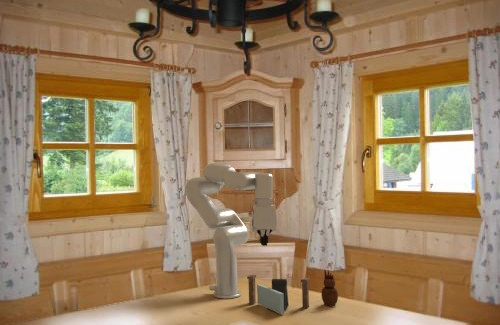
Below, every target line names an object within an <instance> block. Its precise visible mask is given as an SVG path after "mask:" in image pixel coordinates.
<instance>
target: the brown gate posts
mask: <svg viewBox="0 0 500 325" xmlns="http://www.w3.org/2000/svg"><path fill="white" fill-rule="evenodd" d="M246 277H247V278H246V279H247V281H248V304H249V305H252V306H253V305H255V304H256V302H257V301H256V300H257V299H256V298H257V296H256V278H257V274H249V275H248V276H246ZM309 281H310V277H305V276H304V277H301V279H300V282H301V294H302V295H301V296H302V299H301V300H302V309H308V308H309V307H310V306H309V305H310V301H309V300H310V298H309V297H310V294H309V293H310V291H309Z"/></svg>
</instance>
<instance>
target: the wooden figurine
mask: <svg viewBox="0 0 500 325" xmlns="http://www.w3.org/2000/svg"><path fill="white" fill-rule="evenodd" d="M323 271H324V279H323V285H324V287H322V289H321V300H322V302H323V304H324V305H325V306H328V307H333V306H335V305H337V302H338V299H339V292H338V290H337V288H336V287H335V286H336V280H335V278H334V274H332V273H331V272H330V271H329V270H327V271H326V269H324V270H323Z"/></svg>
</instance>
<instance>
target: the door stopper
mask: <svg viewBox="0 0 500 325" xmlns="http://www.w3.org/2000/svg"><path fill="white" fill-rule="evenodd" d="M271 289H274V290H276V291H279V292H281V293H284V312H286V311H287V310H288V307H289V295H288V294H289V291H288V280H287V278H272V279H271ZM270 311H272V312H273V310H271V309H270Z"/></svg>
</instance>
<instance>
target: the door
mask: <svg viewBox="0 0 500 325" xmlns="http://www.w3.org/2000/svg"><path fill="white" fill-rule="evenodd" d="M256 293H257V296H256V298H257V299H256V300H257V301H256V302H257V304H258V305H260V306H262V307H265V308H266V309H269V310H270V311H271V310H273V311H274V312H275V313H277V314H280V315H283V314H285V311H284V293H281V292H279V291H276V290H274V289H272V287H268V286H265V285H263V284H260V283H259V284H256ZM273 311H272V312H273Z"/></svg>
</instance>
